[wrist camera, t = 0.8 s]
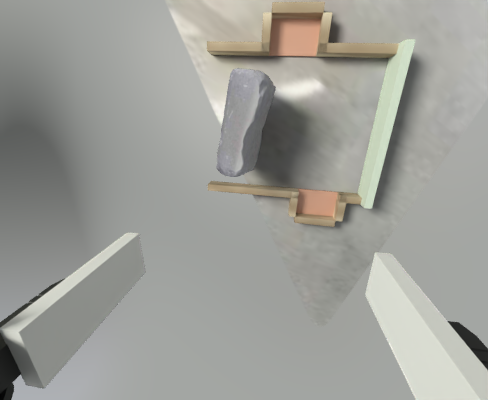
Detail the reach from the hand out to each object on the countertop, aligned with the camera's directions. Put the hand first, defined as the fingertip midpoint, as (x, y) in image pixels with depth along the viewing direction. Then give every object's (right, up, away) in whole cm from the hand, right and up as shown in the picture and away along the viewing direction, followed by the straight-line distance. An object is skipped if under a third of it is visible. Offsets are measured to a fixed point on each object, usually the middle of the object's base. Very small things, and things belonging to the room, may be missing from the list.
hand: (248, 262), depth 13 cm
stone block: (+1, +15, +21) cm, 26 cm away
